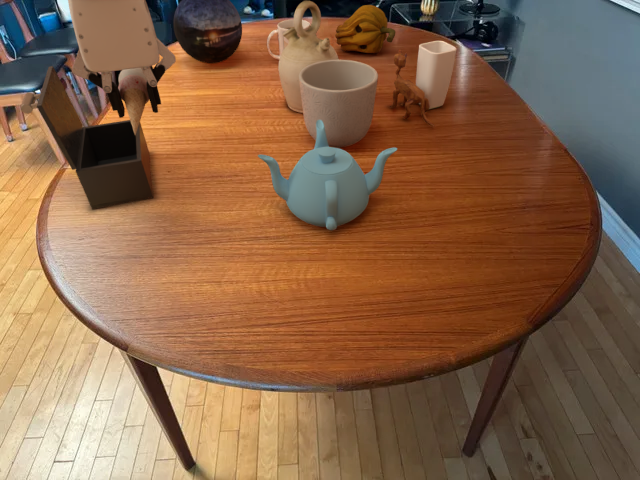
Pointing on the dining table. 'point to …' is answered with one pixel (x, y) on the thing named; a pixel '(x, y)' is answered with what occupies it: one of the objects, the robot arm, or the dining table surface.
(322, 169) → the teapot
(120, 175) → the bin
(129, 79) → the ice cream cone
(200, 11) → the decorative sphere
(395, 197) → the dining table surface
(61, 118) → the bin lid
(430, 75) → the cup
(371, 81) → the planter
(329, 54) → the jug
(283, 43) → the mug
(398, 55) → the cat figurine
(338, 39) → the fruit
